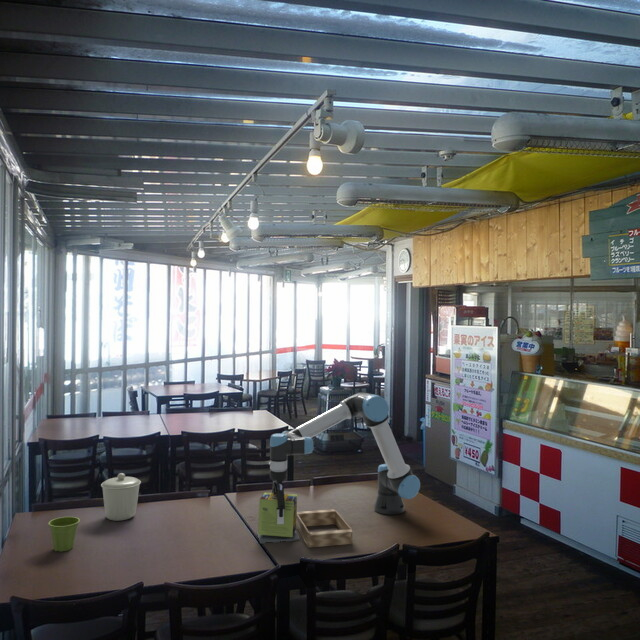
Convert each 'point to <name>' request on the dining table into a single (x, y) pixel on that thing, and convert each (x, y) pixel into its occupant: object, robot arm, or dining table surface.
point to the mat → (277, 538)
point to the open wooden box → (325, 536)
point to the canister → (120, 497)
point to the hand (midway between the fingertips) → (277, 519)
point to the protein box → (270, 515)
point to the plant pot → (63, 532)
